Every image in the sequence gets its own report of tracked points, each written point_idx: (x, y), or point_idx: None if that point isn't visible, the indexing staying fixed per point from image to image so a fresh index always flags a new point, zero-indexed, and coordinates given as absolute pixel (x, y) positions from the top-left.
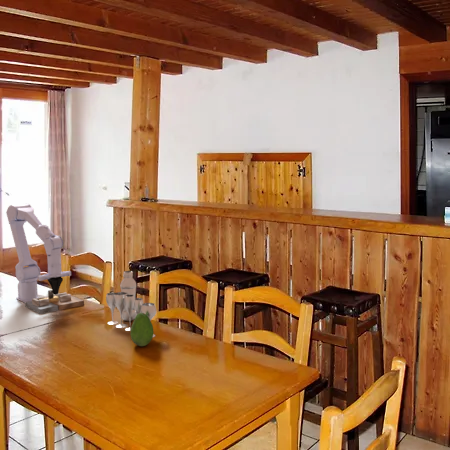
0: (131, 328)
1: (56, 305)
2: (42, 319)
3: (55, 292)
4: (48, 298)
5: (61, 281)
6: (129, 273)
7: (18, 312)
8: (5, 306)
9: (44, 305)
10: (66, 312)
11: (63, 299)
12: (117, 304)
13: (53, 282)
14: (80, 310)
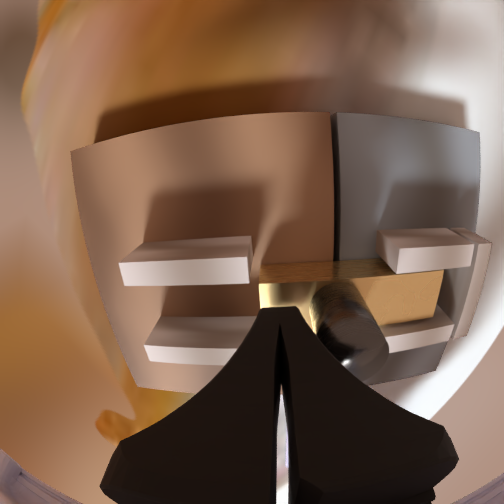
0: None
1: (345, 132)
2: (467, 29)
3: (302, 317)
4: (366, 299)
5: (162, 432)
6: None
7: (499, 267)
8: (454, 390)
9: (421, 215)
10: (293, 22)
11: (216, 243)
12: None
13: (420, 424)
14: (177, 15)
